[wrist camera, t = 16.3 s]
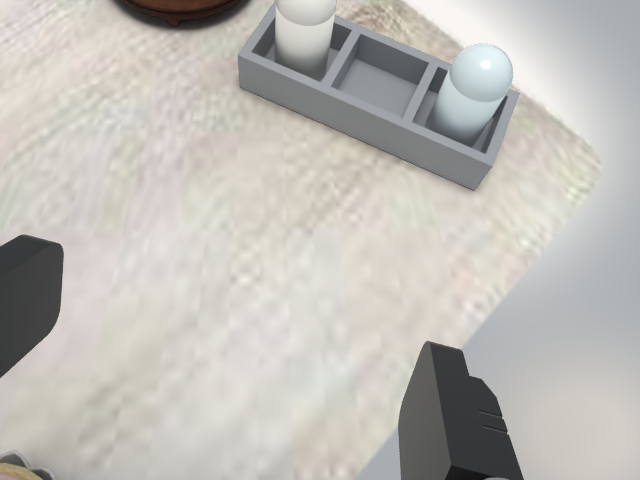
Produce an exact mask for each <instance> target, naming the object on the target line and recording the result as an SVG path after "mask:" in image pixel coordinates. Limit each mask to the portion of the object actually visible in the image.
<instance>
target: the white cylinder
mask: <svg viewBox="0 0 640 480" xmlns="http://www.w3.org/2000/svg"><path fill="white" fill-rule="evenodd" d="M335 11H336V0H276V19H275V60H274V62H275V63H277V64H280V65H282V66H284V67H287V68H289V69H291V70H294V71H296V72H298V73H300V74H303V75H305V76H307V77H310V78H312V79H314V80H316V81H320V80H321V79H322V78H323V77H324V75H325V73H326V68H327V62H328V55H329V49H330V43H331V36H332V30H333V23H334V17H335Z"/></svg>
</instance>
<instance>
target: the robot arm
mask: <svg viewBox="0 0 640 480" xmlns="http://www.w3.org/2000/svg"><path fill="white" fill-rule="evenodd" d="M63 258H64V253H63V248H62V246H61V245H60V244H59V243H55V242H52V241H48V240H44V239H40V238H36V237H33V236H29V235H20V236H18V237H16V238H15V239H13V240H11V241H9V242H7V243H6V244H4V245H2V246H0V378H1V377H2V376H3V375H4V374H5V373H6V372H8V371H9V370H10V369H11V368H12V367H13V366H14V365H15V364H16V363H17V362H19V361H20V360H21V359H22V358H23V357H24V356H25V355H26V354H27V353H28V352H30V351H31V350H32V349H33V348H34V347H35V346H36V345H37V344H38V343H39V342H41V341H42V340H43V339H44V338H45V337H46V336H47V335H48V334H49V333H50V332H51V330H52V329H53V327H54V325H55V323H56V321H57V319H58V316H59V312H60V306H61V290H62V274H63ZM398 431H399V449H400V465H401V466H400V467H401V480H524V479H523V476H522V473H521V470H520V467H519V464H518V461H517V458H516V455H515V452H514V449H513V446H512V443H511V440H510V437H509V435H507V428H506V425H505V422H504V420H503V419H502V413H501V410H500V407H499V404H498V401H497V398H496V396H495V395H494V394H493V393H492V391H491V390H490V389H489V388H488V387H487V385H486V384H485V383H484V382H483V380H482V379H479V378H475V377H472V376H469V373H468V369H467V366H466V363H465V358H464V355H463V352H462V350H460V349H456V348H453V347H449V346H445V345H441V344H437V343H434V342H430V341H427V342H425V344H424V345H423V347H422V349H421V352H420V355H419V357H418V360H417V363H416V366H415V368H414V371H413V374H412V376H411V379H410V382H409V385H408V387H407V390H406V393H405V395H404V398H403V401H402V405H401V409H400V415H399V423H398Z"/></svg>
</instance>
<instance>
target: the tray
mask: <svg viewBox="0 0 640 480" xmlns="http://www.w3.org/2000/svg"><path fill="white" fill-rule="evenodd" d="M275 19H276V0H275V2H274V3H273V5H272V6H271V8H270V9H269V10H268V12H267V13H266V15H265V16H264V18H263V19H262V21H261V22H260V23H259V25H258V26H257V28H256V29H255V31H254V32H253V34H252V35H251V36H250V38H249V39H248V41H247V42H246V44H245V45H244V47H243V48H242V50H241V51H240V52H239V54H238V67H239V82H240V87H241V88H243V89H245V90H248V91H250V92H252V93H254V94H257V95H259V96H261V97H263V98H266V99H268V100H270V101H272V102H275V103H277V104H279V105H281V106H284V107H286V108H288V109H291V110H293V111H295V112H297V113H300V114H302V115H304V116H306V117H309V118H311V119H313V120H315V121H318V122H320V123H322V124H324V125H327V126H329V127H331V128H333V129H336V130H338V131H340V132H342V133H345V134H347V135H349V136H352V137H354V138H356V139H358V140H361V141H363V142H365V143H367V144H370V145H372V146H374V147H376V148H379V149H381V150H383V151H385V152H388V153H390V154H392V155H394V156H397V157H399V158H401V159H403V160H406V161H408V162H410V163H413V164H415V165H417V166H419V167H422V168H424V169H426V170H428V171H431V172H433V173H435V174H437V175H440V176H442V177H444V178H446V179H449V180H451V181H453V182H455V183H458V184H460V185H462V186H464V187H467V188H469V189H471V190H475V188H476V187H477V186H478V184H479V183H480V182H481V181H482V179H483V178H484V177H485V175H486V174H487V173H488V171H489V170H490V169H491V168H492V166H493V163H494V161H495V158H496V155H497V153H498V150H499V148H500V145H501V142H502V140H503V137H504V134H505V132H506V129H507V126H508V124H509V121H510V118H511V116H512V113H513V110H514V108H515V105H516V102H517V100H518V97H519V94H520V93H518V92H516V91H513V90H511V89H509V90H508V92H507V93H506V95H505V97H504V98H503V100H502V101H501V103H500V105H499V106H498V108H497V109H496V111H495V113H494V114H493V116H492V117H491V119H490V121H489V122H488V124H487V125H486V127H485V129H484V130H483V132H482V133H481V135H480V137H479V138H478V140H477V141H476V143H475V145H474V146H473V147H472V148H470V147H468V146H466V145H463V144H461V143H459V142H456V141H454V140H452V139H450V138H447V137H445V136H443V135H440V134H438V133H436V132H434V131H431V130H429V129H427V128H425V123H426V120H427V118H428V116H429V113H430V111H431V109H432V107H433V104H434V102H435V100H436V97H437V95H438V93H439V91H440V88H441V86H442V84H443V82H444V79H445V77H446V75H447V73H448V70H449V68H450V66H451V64H450V63H447V62H445V61H443V60H440V59H438V58H435V57H433V56H431V55H428V54H426V53H424V52H421V51H419V50H417V49H414V48H412V47H409V46H407V45H405V44H402V43H400V42H398V41H395V40H393V39H391V38H388V37H386V36H384V35H381V34H379V33H376V32H374V31H372V30H369V29H367V28H365V27H362V26H360V25H358V24H355V23H353V22H350V21H348V20H346V19H343V18H341V17H339V16H336V15H335V17H334V23H333V30H332V36H331V43H330V49H329V55H328V62H327V68H326V73H325V75H324V77H323V78H322V79H321V80H320V81H316V80H314V79H312V78H310V77H307V76H305V75H303V74H300V73H298V72H296V71H294V70H291V69H289V68H287V67H284V66H282V65H280V64H277V63H275V62H274V60H275Z"/></svg>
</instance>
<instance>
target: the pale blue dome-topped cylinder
mask: <svg viewBox="0 0 640 480" xmlns="http://www.w3.org/2000/svg"><path fill="white" fill-rule="evenodd" d="M512 79H513V68H512V64H511V61H510V59H509V57H508V56H507V54H506V53H505V52H504V51H503V50H501V49H500V48H499V47H497V46H495V45H491V44H485V43H482V44H475V45H472V46H469V47H467V48H465V49H464V50H462V51H461V52H460V53H459V54H458V55H457V56H456V57H455V59H454V60H453V62H452V64H451V66H450V68H449V70H448V73H447V75H446V77H445V79H444V82H443V84H442V86H441V88H440V91H439V93H438V95H437V97H436V100H435V102H434V104H433V107H432V109H431V111H430V113H429V116H428V118H427V120H426V123H425V128H427V129H429V130H431V131H434V132H436V133H438V134H440V135H443V136H445V137H447V138H450V139H452V140H454V141H456V142H459V143H461V144H463V145H466V146H468V147H470V148H472V147H473V146H474V145H475V143H476V141H477V140H478V138H479V137H480V135H481V133H482V132H483V130H484V129H485V127H486V125H487V124H488V122H489V121H490V119H491V117H492V116H493V114H494V113H495V111H496V109H497V108H498V106H499V105H500V103H501V101H502V100H503V98H504V97H505V95H506V93H507V92H508V90H509V88H510V86H511V83H512Z"/></svg>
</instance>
